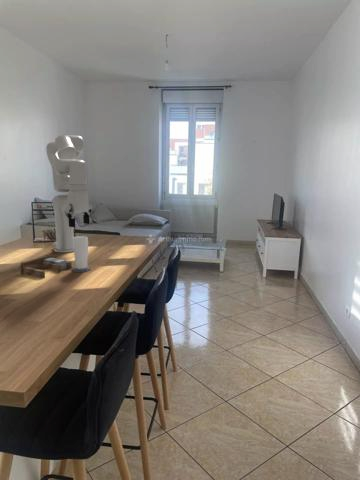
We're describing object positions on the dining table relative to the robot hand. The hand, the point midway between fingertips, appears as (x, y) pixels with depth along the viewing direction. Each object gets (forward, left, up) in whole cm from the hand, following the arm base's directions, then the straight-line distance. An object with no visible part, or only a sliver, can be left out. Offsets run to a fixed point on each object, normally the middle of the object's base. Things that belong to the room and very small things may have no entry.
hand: (79, 225), depth 164 cm
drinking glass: (0, 0, -21) cm, 21 cm away
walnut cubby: (-11, -10, -21) cm, 26 cm away
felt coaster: (0, 0, -21) cm, 21 cm away
